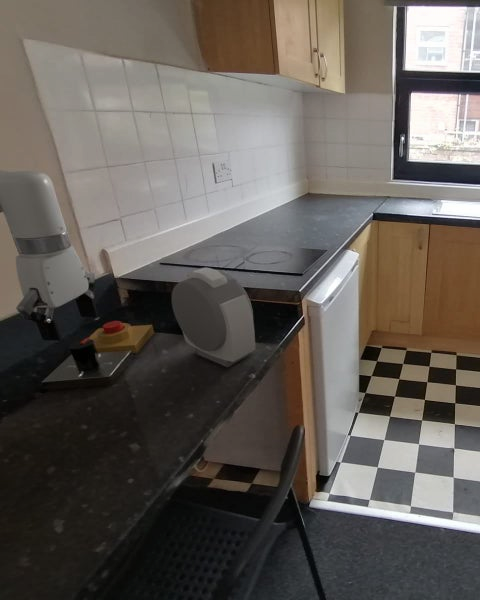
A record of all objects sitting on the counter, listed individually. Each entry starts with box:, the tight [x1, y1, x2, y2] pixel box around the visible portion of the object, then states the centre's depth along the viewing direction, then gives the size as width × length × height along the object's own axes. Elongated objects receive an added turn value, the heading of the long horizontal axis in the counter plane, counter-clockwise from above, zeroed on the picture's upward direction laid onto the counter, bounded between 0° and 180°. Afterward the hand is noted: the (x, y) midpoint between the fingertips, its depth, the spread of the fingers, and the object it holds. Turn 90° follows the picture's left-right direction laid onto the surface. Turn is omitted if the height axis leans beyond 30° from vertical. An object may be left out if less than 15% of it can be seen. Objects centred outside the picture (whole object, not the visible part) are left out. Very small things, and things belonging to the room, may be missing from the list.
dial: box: [68, 337, 101, 370], centre depth 82 cm, size 4×4×5 cm
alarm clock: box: [171, 266, 256, 368], centre depth 86 cm, size 18×8×20 cm, turn 59°
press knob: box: [102, 320, 123, 334], centre depth 93 cm, size 4×4×2 cm
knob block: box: [88, 322, 155, 355], centre depth 94 cm, size 12×10×4 cm
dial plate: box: [41, 350, 134, 391], centre depth 83 cm, size 12×10×2 cm
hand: (72, 327), depth 79 cm, fingers open, 9 cm apart
